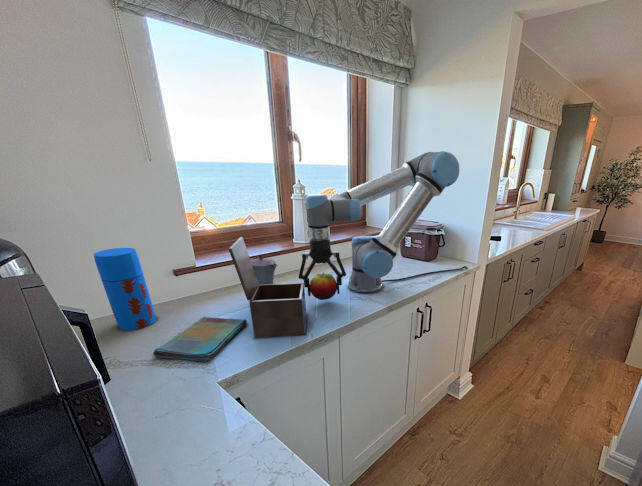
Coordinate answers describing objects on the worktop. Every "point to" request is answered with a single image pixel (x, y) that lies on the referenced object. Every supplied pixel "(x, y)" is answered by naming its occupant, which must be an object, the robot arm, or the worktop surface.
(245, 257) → the chest lid
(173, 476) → the worktop surface
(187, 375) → the worktop surface
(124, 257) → the thermos
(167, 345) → the dish towel
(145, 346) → the worktop surface
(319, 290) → the fruit
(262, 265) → the moka pot
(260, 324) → the chest
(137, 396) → the worktop surface
